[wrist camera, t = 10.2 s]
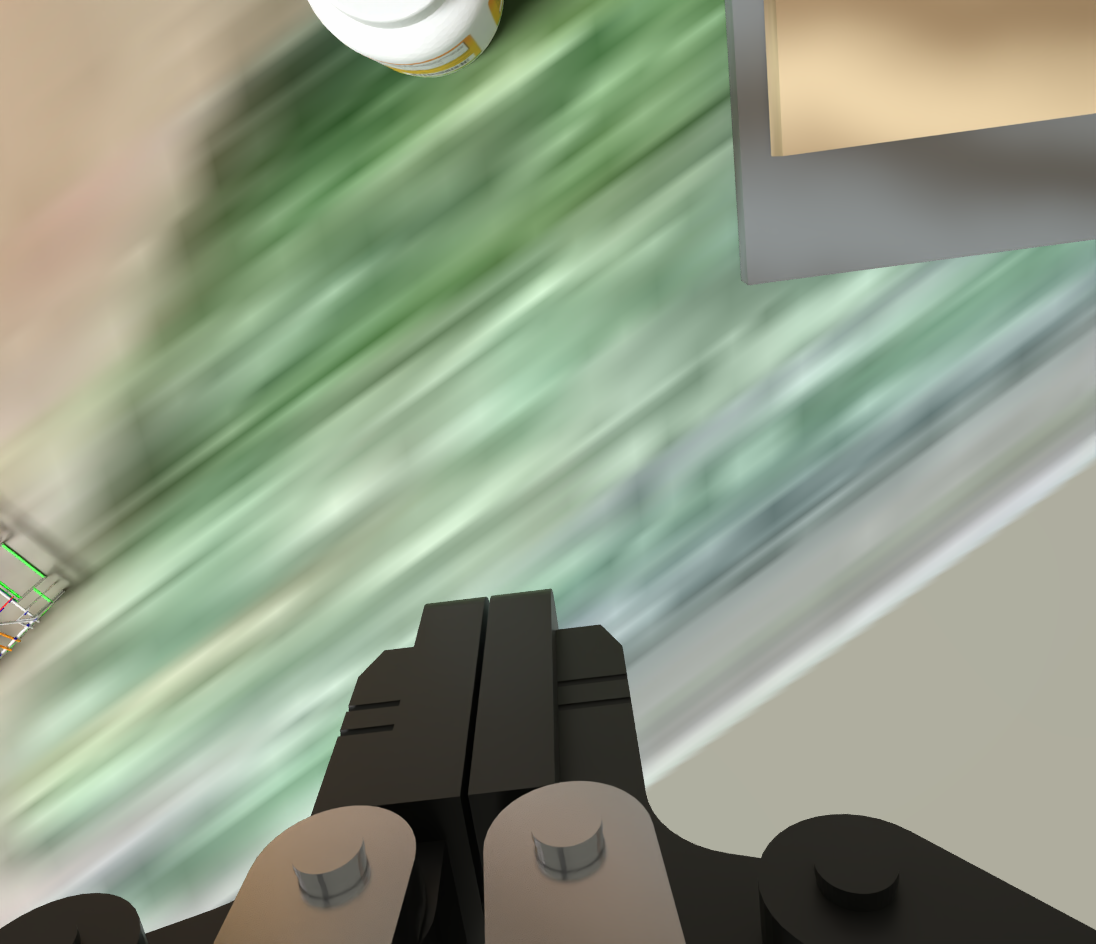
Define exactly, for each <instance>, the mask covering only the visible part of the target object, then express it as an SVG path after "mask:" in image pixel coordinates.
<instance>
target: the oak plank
mask: <svg viewBox="0 0 1096 944" xmlns="http://www.w3.org/2000/svg"><path fill="white" fill-rule="evenodd" d="M764 18H765V38H766V59H767V79H768V99H769V120H770V140H771V156H788V155H795V154H803V153H810V152H817V151H824V150H832V149H839V148H846V147H854V146H861V145H868V144H875V143H883V142H890V141H897V140H905V139H912V138H919V137H926V136H934V135H941V134H948V133H956V132H963V131H970V130H978V129H985V128H992V127H999V126H1007V125H1014V124H1021V123H1029V122H1036V121H1043V120H1050V119H1058V118H1065V117H1072V116H1080V115H1087V114H1094V113H1096V0H764Z"/></svg>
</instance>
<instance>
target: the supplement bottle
mask: <svg viewBox="0 0 1096 944" xmlns="http://www.w3.org/2000/svg"><path fill="white" fill-rule="evenodd" d="M308 2H309V3H310V5H311V7H312V9H313V10H314V12H315V14H316V15H317V16H318V18H319V19H320V20H321V22H322V23H323V24H324V25H325V26H326V27H327V28H328V30H329V31H330V32H331V33H332V34H333V35H335V36H336V37H337V38H338V39H339V40H340V41H342V42H343V43H344V44H345V45H347V46H348V47H350V48H351V49H353V50H354V51H356V52H358V53H360V54H362V55H364V56H366V57H368V58H371V59H373V60H375V61H377V62H379V63H381V64H383V65H385V66H387V67H389V68H391V69H393V70H395V71H398V72H400V73H403V74H407V75H412V76H417V77H439V76H444V75H448V74H451V73H454V72H456V71H458V70H460V69H462V68H464V67H466V66H467V65H469V64H470V63H472V62H473V61H474V60H475V59H476V58H477V57H478V56H480V54H481V53H482V52H483V51H484V50H485V49H486V47H487V46H488V45H489V43H490V42H491V40H492V38H493V36H494V35H495V33H496V30H497V28H498V25H499V22H500V19H501V15H502V10H503V4H504V0H308Z"/></svg>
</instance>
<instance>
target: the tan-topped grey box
mask: <svg viewBox="0 0 1096 944" xmlns="http://www.w3.org/2000/svg"><path fill="white" fill-rule="evenodd" d="M725 11H726V28H727V46H728V63H729V80H730V97H731V114H732V131H733V148H734V165H735V182H736V199H737V216H738V233H739V250H740V267H741V281H743V282H744V283H746V284H747V285H753V284H760V283H768V282H776V281H783V280H791V279H798V278H806V277H813V276H821V275H829V274H836V273H844V272H851V271H859V270H866V269H874V268H882V267H889V266H897V265H904V264H912V263H919V262H927V261H935V260H942V259H950V258H957V257H965V256H973V255H980V254H988V253H995V252H1003V251H1010V250H1018V249H1026V248H1033V247H1041V246H1048V245H1056V244H1063V243H1071V242H1079V241H1086V240H1094V239H1096V113H1094V114H1087V115H1080V116H1072V117H1065V118H1058V119H1050V120H1043V121H1036V122H1029V123H1021V124H1014V125H1007V126H999V127H992V128H985V129H978V130H970V131H963V132H956V133H948V134H941V135H934V136H926V137H919V138H912V139H905V140H897V141H890V142H883V143H875V144H868V145H861V146H854V147H846V148H839V149H832V150H824V151H817V152H810V153H803V154H795V155H788V156H771V140H770V120H769V99H768V79H767V59H766V38H765V18H764V0H725Z"/></svg>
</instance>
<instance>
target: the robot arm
mask: <svg viewBox="0 0 1096 944" xmlns="http://www.w3.org/2000/svg"><path fill="white" fill-rule="evenodd" d="M340 732H341V736H340V737H338V738H337V741H336V744H335V747H334V750H333V753H332V756H331V759H330V761H329V764H328V767H327V770H326V773H325V776H324V779H323V782H322V785H321V788H320V791H319V793H318V796H317V799H316V802H315V805H314V808H313V811H312V814H311V816H310V817H308V818H306V819H304V820H302V821H300V822H298V823H296V824H295V825H293V826H291V827H290V828H288V829H286V830H285V831H284V832H282V833H281V834H280V835H278V836H277V837H276V838H275V839H274V840H273V841H272V842H270V843H269V844H268V845H267V846H266V847H265V848H264V850H263V851H262V852H261V853H260V854H259V856H258V857H257V858H256V860H255V862H254V863H253V865H252V867H251V868H250V870H249V872H248V874H247V876H246V878H245V880H244V882H243V884H242V886H241V888H240V890H239V892H238V894H237V896H236V899H235V900H234V901H232V902H230V903H228V904H225V905H223V906H221V907H218V908H216V909H213V910H211V911H208V912H205V913H202V914H199V915H197V916H194V917H191V918H188V919H185V920H183V921H180V922H177V923H174V924H171V925H169V926H166V927H163V928H160V929H157V930H155V931H152V932H149V933H146V934H145V932H144V929H143V927H142V924H141V921H140V918H139V916H138V914H137V912H136V909H135V908H134V907H133V906H132V905H131V904H130V903H129V902H128V901H126V900H124V899H123V898H121V897H118V896H115V895H111V894H103V893H90V894H80V895H75V896H70V897H66V898H63V899H60V900H56V901H53V902H50V903H48V904H45V905H43V906H41V907H38V908H36V909H34V910H32V911H30V912H28V913H26V914H24V915H22V916H20V917H18V918H17V919H15V920H14V921H12V922H10V923H9V924H7V925H5V926H4V927H2V928H1V929H0V944H1096V930H1094V929H1093V928H1091V927H1089V926H1087V925H1085V924H1083V923H1081V922H1079V921H1078V920H1076V919H1074V918H1072V917H1070V916H1068V915H1066V914H1065V913H1063V912H1061V911H1059V910H1057V909H1055V908H1053V907H1051V906H1050V905H1048V904H1046V903H1044V902H1042V901H1040V900H1038V899H1036V898H1035V897H1033V896H1031V895H1029V894H1027V893H1025V892H1023V891H1021V890H1019V889H1018V888H1016V887H1014V886H1012V885H1010V884H1008V883H1006V882H1005V881H1002V880H1001V879H999V878H997V877H995V876H993V875H991V874H990V873H988V872H986V871H984V870H982V869H980V868H978V867H976V866H975V865H973V864H970V863H969V862H967V861H965V860H963V859H961V858H959V857H958V856H956V855H954V854H952V853H950V852H948V851H946V850H944V849H943V848H941V847H939V846H937V845H935V844H933V843H931V842H929V841H928V840H926V839H924V838H922V837H920V836H918V835H916V834H914V833H912V832H911V831H909V830H906V829H904V828H902V827H900V826H898V825H895V824H893V823H890V822H886V821H884V820H881V819H877V818H871V817H867V816H860V815H850V814H839V815H838V814H836V815H825V816H818V817H814V818H810V819H807V820H803V821H801V822H798V823H796V824H794V825H792V826H790V827H788V828H787V829H785V830H784V831H782V832H781V833H779V834H778V835H777V836H776V837H775V838H774V839H773V840H772V841H771V842H770V843H769V845H768V846H767V848H766V849H765V851H764V852H763V854H762V857H761V858H756V857H749V856H742V855H735V854H728V853H723V852H719V851H714V850H710V849H707V848H704V847H701V846H697V845H695V844H693V843H691V842H689V841H687V840H685V839H683V838H681V837H679V836H678V835H676V834H675V833H673V832H672V831H670V830H669V829H668V828H667V827H666V826H665V825H664V824H662V823H661V822H660V820H659V819H658V818H657V816H656V815H655V814H654V812H653V811H652V809H651V807H650V805H649V803H648V799H647V796H646V791H645V785H644V779H643V772H642V766H641V760H640V754H639V747H638V741H637V735H636V729H635V722H634V716H633V710H632V704H631V698H630V691H629V685H628V679H627V672H626V666H625V660H624V654H623V647H622V645H621V644H620V643H619V642H618V641H617V640H616V639H615V638H614V637H613V636H612V635H611V634H610V633H609V632H608V631H607V630H606V629H605V628H603V627H602V626H601V625H593V626H584V627H576V628H568V629H558V622H557V615H556V608H555V602H554V596H553V592H552V589H545V590H536V591H528V592H520V593H511V594H503V595H495V596H491V598H490V603H489V600H488V598H487V597H480V598H472V599H463V600H455V601H447V602H438V603H430V604H426V605H425V606H424V610H423V613H422V617H421V621H420V625H419V629H418V633H417V637H416V641H415V645H414V647H409V648H401V649H393V650H384V652H383V653H382V654H381V655H380V656H379V657H378V658H377V659H376V660H375V661H374V662H373V663H372V664H371V665H370V666H369V667H368V668H367V669H366V670H365V671H364V672H363V673H362V674H361V675H360V676H359V677H358V680H357V683H356V686H355V689H354V692H353V694H352V697H351V700H350V703H349V712H346V715H345V718H344V721H343V724H342V726H341V729H340Z"/></svg>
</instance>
